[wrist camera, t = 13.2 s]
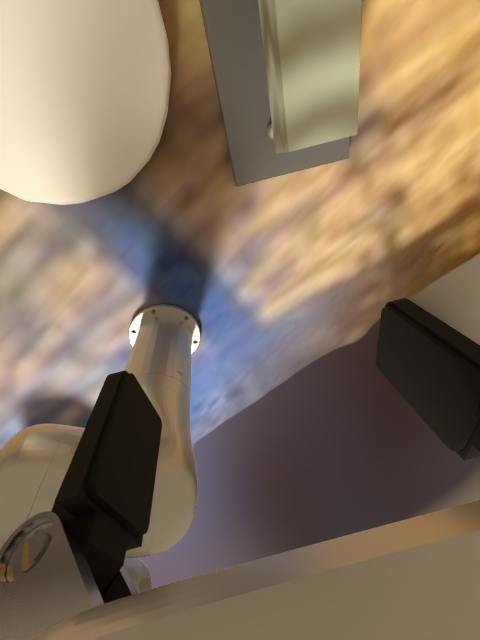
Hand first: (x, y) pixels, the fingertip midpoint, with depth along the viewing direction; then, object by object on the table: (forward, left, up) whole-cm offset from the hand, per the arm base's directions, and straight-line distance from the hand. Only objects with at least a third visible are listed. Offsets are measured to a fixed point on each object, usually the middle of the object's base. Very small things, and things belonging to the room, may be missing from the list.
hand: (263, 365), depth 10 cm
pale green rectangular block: (+14, -12, -27) cm, 32 cm away
